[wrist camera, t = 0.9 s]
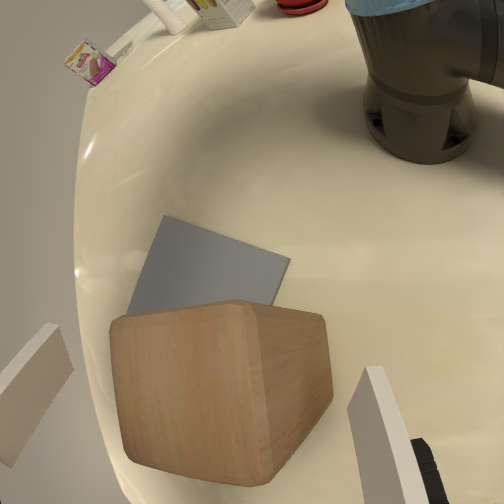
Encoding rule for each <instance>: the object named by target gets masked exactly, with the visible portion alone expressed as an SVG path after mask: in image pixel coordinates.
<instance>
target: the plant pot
mask: <svg viewBox="0 0 504 504" xmlns="http://www.w3.org/2000/svg"><path fill="white" fill-rule="evenodd" d="M276 1H277V2H278V4H277V7H278V9H279V10H280V11H282V12H284V13H287V14H297V15H298V14H303V13H308V12H311V11H314V10H317V9H319V8H321V7H322V6H324V5H325V4H326V3H327V1H328V0H276Z"/></svg>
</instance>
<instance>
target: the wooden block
mask: <svg viewBox="0 0 504 504" xmlns="http://www.w3.org/2000/svg"><path fill="white" fill-rule="evenodd" d="M109 334H110V350H111V363H112V373H113V383H114V391H115V399H116V406H117V413H118V420H119V426H120V431H121V437H122V442H123V447H124V451H125V453H126V455H127V456H128V458H129V459H130V460H131V461H133V462H134V463H137V464H140V465H144V466H147V467H150V468H154V469H158V470H161V471H165V472H169V473H173V474H177V475H181V476H186V477H190V478H195V479H200V480H205V481H211V482H217V483H223V484H230V485H237V486H245V487H254V486H260V485H264V484H266V483H269V482H270V481H271V480H272V479H273V478H274V476H275V475H276V474H277V473H278V472H279V471H280V469H281V468H282V467H283V466H284V465H285V463H286V462H287V461H288V460H289V459H290V457H291V456H292V455H293V454H294V452H295V451H296V450H297V448H298V447H299V446H300V445H301V443H302V442H303V441H304V439H305V438H306V437H307V435H308V434H309V433H310V431H311V430H312V429H313V427H314V426H315V425H316V423H317V422H318V420H319V419H320V418H321V416H322V415H323V413H324V412H325V411H326V409H327V408H328V406H329V405H330V403H331V401H332V398H333V386H332V376H331V366H330V357H329V348H328V340H327V332H326V324H325V320H324V318H323V317H322V315H320V314H315V313H310V312H304V311H298V310H292V309H286V308H281V307H275V306H270V305H264V304H259V303H254V302H248V301H243V300H238V299H232V300H226V301H220V302H213V303H207V304H200V305H194V306H187V307H180V308H173V309H166V310H159V311H151V312H144V313H136V314H128V315H123V316H121V317H119V318H116V319H115V320H113V321H112V322H111V326H110V330H109Z"/></svg>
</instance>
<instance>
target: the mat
mask: <svg viewBox="0 0 504 504" xmlns="http://www.w3.org/2000/svg"><path fill="white" fill-rule="evenodd" d="M290 260H291V259H290V258H287V257H285V256H282V255H279V254H276V253H273V252H270V251H267V250H264V249H261V248H258V247H256V246H253V245H250V244H247V243H244V242H241V241H238V240H235V239H232V238H229V237H226V236H223V235H220V234H218V233H215V232H212V231H209V230H206V229H203V228H200V227H197V226H194V225H191V224H188V223H185V222H182V221H179V220H176V219H173V218H170V217H168V216H165V215H164V217H163V219H162V221H161V224H160V226H159V228H158V231H157V233H156V236H155V238H154V241H153V243H152V246H151V248H150V251H149V253H148V256H147V258H146V261H145V264H144V266H143V269H142V272H141V274H140V277H139V280H138V282H137V285H136V288H135V291H134V294H133V297H132V299H131V302H130V305H129V308H128V311H127V314H126V315H128V314H136V313H144V312H151V311H159V310H166V309H173V308H180V307H187V306H194V305H200V304H207V303H213V302H220V301H226V300H232V299H238V300H243V301H248V302H254V303H259V304H264V305H270V306H272V305H273V302H274V300H275V297H276V295H277V292H278V290H279V287H280V285H281V282H282V280H283V277H284V275H285V272H286V270H287V267H288V265H289V262H290Z"/></svg>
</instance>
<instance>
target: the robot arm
mask: <svg viewBox="0 0 504 504" xmlns="http://www.w3.org/2000/svg"><path fill="white" fill-rule="evenodd" d="M345 5H346V8H347V10H348V11H349V12H350V15H351V17H352V20H353V23H354V26H355V29H356V32H357V35H358V38H359V41H360V44H361V48H362V51H363V54H364V58H365V61H366V65H367V68H368V72H369V74H368V79H367V84H366V89H365V94H364V99H363V108H364V114H365V118H366V122H367V125H368V128H369V130H370V132H371V134H372V135H373V137H374V138H375V139H376V140H377V142H378V143H379V144H380V145H381V146H383V147H384V148H385V149H386V150H388V151H389V152H391V153H392V154H394V155H396V156H398V157H400V158H402V159H405V160H408V161H411V162H416V163H422V164H438V163H443V162H447V161H450V160H452V159H455V158H456V157H458V156H460V155H461V154H462V153H463V152H464V151H465V150H466V149H467V148H468V147H469V145H470V143H471V142H472V139H473V136H474V132H475V127H476V110H475V106H474V102H473V98H472V94H471V91H470V87H469V84H468V81H469V79H472V80H476V81H480V82H483V83H487V84H489V85H493V86H496V87H499V88H502V89H504V0H345ZM73 370H74V369H73V366H72V363H71V361H70V358H69V355H68V352H67V350H66V346H65V343H64V340H63V337H62V334H61V331H60V327H59V325H55V324H52V323H48V322H47V323H46V324H45V325H44V326H43V327H42V328H41V329H40V330H39V331H38V332H37V333H36V334H35V335H34V337H33V338H32V339H31V340H30V341H29V342H28V343H27V344H26V345H25V346H24V347H23V348H22V350H21V351H20V352H19V353H18V354H17V355H16V356H15V357H14V359H13V360H12V361H11V362H10V363H9V364H8V365H7V367H6V368H5V369H4V370H3V371H2V372H1V374H0V462H1V463H3V464H4V465H6V466H8V467H9V468H10V469H12V468H13V466H14V464H15V462H16V460H17V459H18V457H19V455H20V453H21V452H22V450H23V448H24V447H25V445H26V443H27V441H28V440H29V438H30V437H31V435H32V433H33V432H34V430H35V428H36V427H37V425H38V424H39V422H40V420H41V419H42V417H43V415H44V414H45V412H46V411H47V409H48V408H49V406H50V405H51V403H52V402H53V400H54V398H55V397H56V395H57V394H58V392H59V391H60V389H61V388H62V386H63V385H64V384H65V382H66V381H67V379H68V378H69V376H70V375H71V373H72V372H73ZM347 412H348V417H349V421H350V426H351V431H352V436H353V441H354V446H355V451H356V456H357V461H358V467H359V472H360V478H361V484H362V490H363V496H364V502H365V504H449V502H448V500H447V496H446V493H445V490H444V487H443V484H442V481H441V478H440V474H439V472H438V470H437V466H436V463H435V461H434V457H433V454H432V451H431V449H430V447H429V446H428V444H427V443H426V442H425V441H424V440H423V439H422V438H418V439H412V440H410V439H409V436H408V433H407V430H406V427H405V424H404V422H403V419H402V416H401V413H400V410H399V408H398V405H397V402H396V400H395V397H394V394H393V392H392V389H391V386H390V384H389V381H388V379H387V376H386V374H385V371H384V369H383V366H366V367H365V369H364V371H363V374H362V376H361V378H360V381H359V383H358V385H357V388H356V390H355V392H354V394H353V397H352V399H351V401H350V403H349V405H348V407H347ZM0 504H1V502H0Z"/></svg>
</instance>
